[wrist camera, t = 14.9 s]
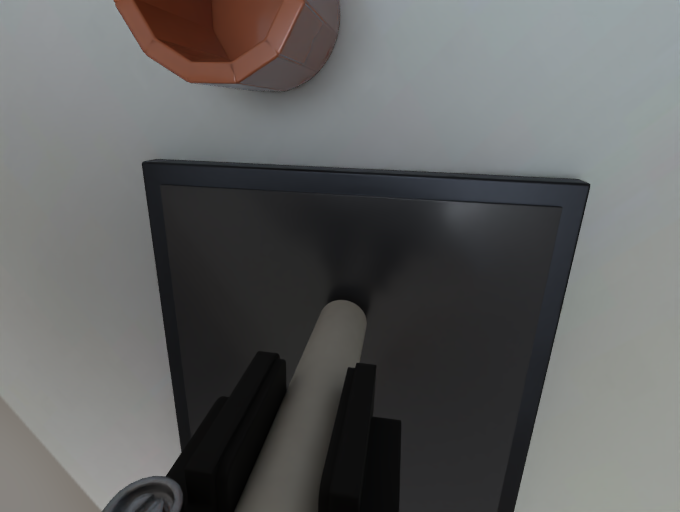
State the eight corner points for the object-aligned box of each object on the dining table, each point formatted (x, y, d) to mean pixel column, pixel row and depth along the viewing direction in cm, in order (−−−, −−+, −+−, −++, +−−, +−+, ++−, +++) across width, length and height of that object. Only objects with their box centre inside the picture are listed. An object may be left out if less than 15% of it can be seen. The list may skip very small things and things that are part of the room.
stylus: (323, 330, 16) (191, 665, 7) (323, 289, 16) (179, 591, 6) (367, 334, 16) (301, 690, 6) (369, 293, 16) (301, 616, 6)
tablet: (200, 517, 23) (190, 537, 22) (155, 158, 16) (137, 162, 15) (492, 568, 21) (497, 593, 20) (580, 178, 14) (595, 184, 13)
